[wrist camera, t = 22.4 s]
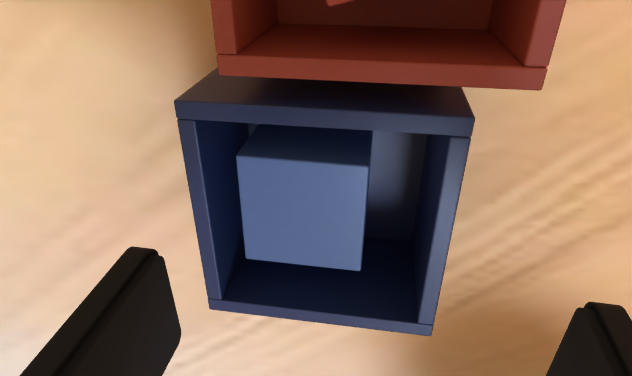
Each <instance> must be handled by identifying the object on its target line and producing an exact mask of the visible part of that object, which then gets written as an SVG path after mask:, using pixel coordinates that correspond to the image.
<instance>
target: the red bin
mask: <svg viewBox="0 0 632 376" xmlns="http://www.w3.org/2000/svg"><path fill="white" fill-rule="evenodd" d="M210 1H211V10H212V19H213V27H214V36H215V45H216V52H217V53H218V54H217V63H218V72H219V75H224V76H245V77H266V78H287V79H308V80H329V81H350V82H371V83H392V84H413V85H434V86H455V87H476V88H497V89H518V90H541V89H542V87H543V83H544V80H545V76H546V73H547V68H546V67H547V66H548V65H549V61H550V58H551V54H552V51H553V47H554V43H555V40H556V36H557V32H558V29H559V25H560V21H561V18H562V14H563V11H564V7H565V3H566V0H353V1H349V2H346V3H342V4H338V5H335V6H328V5H327V2H326V0H210Z"/></svg>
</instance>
